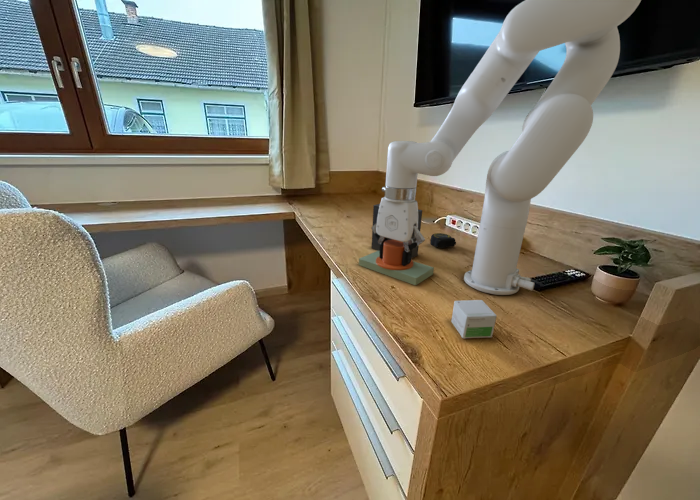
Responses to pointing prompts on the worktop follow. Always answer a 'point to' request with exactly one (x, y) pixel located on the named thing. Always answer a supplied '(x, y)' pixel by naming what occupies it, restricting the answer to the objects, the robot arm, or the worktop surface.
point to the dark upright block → (375, 241)
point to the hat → (393, 256)
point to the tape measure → (442, 240)
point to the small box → (473, 319)
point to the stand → (409, 275)
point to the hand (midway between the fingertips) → (394, 260)
